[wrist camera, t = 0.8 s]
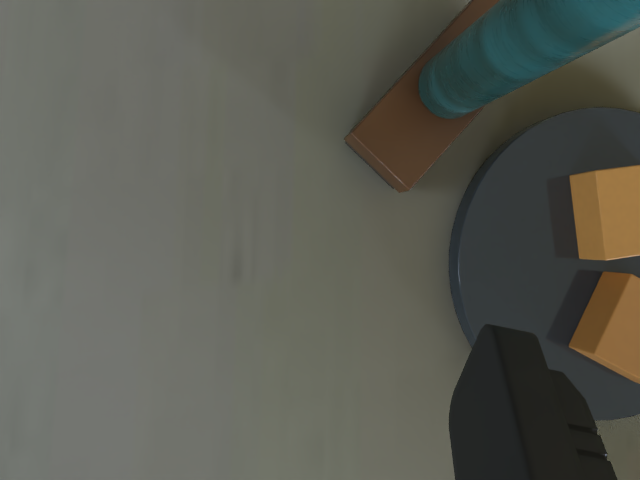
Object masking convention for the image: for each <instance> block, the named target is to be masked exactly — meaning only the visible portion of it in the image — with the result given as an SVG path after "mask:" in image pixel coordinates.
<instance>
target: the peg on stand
mask: <svg viewBox="0 0 640 480" xmlns="http://www.w3.org/2000/svg"><path fill="white" fill-rule="evenodd" d="M639 27H640V0H471V1H470V2H469V3H468V4H467V5H466V6H465V8H464V9H463V10H462V11H461V12H460V13H459V14H458V15H457V16H456V17H455V18H454V20H453V21H452V22H451V23H450V24H449V25H448V26H447V27H446V28H445V29H444V30H443V31H442V33H441V34H440V35H439V36H438V37H437V38H436V39H435V40H434V41H433V42H432V43H431V45H430V46H429V47H428V48H427V49H426V50H425V51H424V52H423V53H422V54H421V55H420V57H419V58H418V59H417V60H416V61H415V62H414V63H413V64H412V65H411V66H410V67H409V68H408V70H407V71H406V72H405V73H404V74H403V75H402V76H401V77H400V78H399V79H398V80H397V82H396V83H395V84H394V85H393V86H392V87H391V88H390V89H389V90H388V91H387V92H386V94H385V95H384V96H383V97H382V98H381V99H380V100H379V101H378V102H377V103H376V104H375V105H374V107H373V108H372V109H371V110H370V111H369V112H368V113H367V114H366V115H365V116H364V117H363V119H362V120H361V121H360V122H359V123H358V124H357V125H356V126H355V127H354V128H353V129H352V131H351V132H350V133H349V134H348V135H347V136H346V137H345V138H344V140H345V143H346V144H347V145H348V146H349V147H350V148H351V149H352V150H353V151H354V152H355V153H356V154H357V155H359V156H360V157H361V158H362V159H363V160H364V161H365V162H366V163H367V164H368V165H369V166H370V167H371V168H372V169H373V170H374V171H375V172H376V173H377V174H378V175H379V176H380V177H381V178H382V179H383V180H385V181H386V182H387V183H388V184H389V185H390V186H391V187H392V188H393V189H396V190H397V191H398V192H404V191H408V190H410V189H411V188H412V187H413V186H414V185H415V184H416V183H417V182H418V180H419V179H420V178H421V177H422V176H423V175H424V174H425V173H426V171H427V170H428V169H429V168H430V167H431V166H432V165H433V164H434V162H435V161H436V160H437V159H438V158H439V157H440V156H441V155H442V153H443V152H444V151H445V150H446V149H447V148H448V147H449V146H450V144H451V143H452V142H453V141H454V140H455V139H456V138H457V137H458V135H459V134H460V133H461V132H462V131H463V130H464V129H465V128H466V126H467V125H468V124H469V123H470V122H471V121H472V120H473V119H474V117H475V116H476V115H477V114H478V113H479V112H480V111H481V110H482V109H483V107H484V106H485V105H486V104H488V103H490V102H492V101H494V100H496V99H498V98H500V97H502V96H504V95H506V94H508V93H510V92H512V91H514V90H516V89H518V88H520V87H522V86H524V85H526V84H528V83H530V82H532V81H533V80H535V79H537V78H539V77H541V76H543V75H545V74H547V73H549V72H551V71H553V70H555V69H557V68H559V67H561V66H563V65H565V64H567V63H569V62H571V61H573V60H575V59H577V58H579V57H581V56H583V55H585V54H587V53H589V52H591V51H593V50H595V49H597V48H599V47H601V46H603V45H605V44H607V43H609V42H611V41H613V40H615V39H617V38H619V37H621V36H623V35H625V34H627V33H629V32H631V31H633V30H635V29H637V28H639Z"/></svg>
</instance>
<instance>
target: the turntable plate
mask: <svg viewBox="0 0 640 480" xmlns="http://www.w3.org/2000/svg"><path fill="white" fill-rule="evenodd" d="M634 165H640V113H638V112H634V111H629V110H624V109H619V108H606V107H595V108H582V109H577V110H573V111H569V112H564V113H561V114H558V115H555V116H553V117H550V118H547V119H545V120H542V121H540V122H537V123H535V124H532V125H531V126H529V127H527V128H525V129H523V130H522V131H520V132H518V133H516V134H515V135H514V136H512V137H511V138H510V139H508V140H507V141H506V142H504V143H503V144H502V145H501V146H500V147H499V148H498V149H497V150H496V151H495V152H494V153H493V154H492V155H491V156H490V157H489V158H488V159H487V160H486V161H485V163H484V164H483V165H482V167H481V168H480V169H479V171H478V172H477V173H476V174H475V176H474V178H473V180H472V181H471V183H470V185H469V187H468V188H467V190H466V192H465V194H464V197H463V199H462V201H461V204H460V206H459V209H458V211H457V215H456V219H455V222H454V226H453V229H452V236H451V243H450V249H449V277H450V286H451V294H452V298H453V302H454V306H455V311H456V314H457V316H458V319H459V322H460V324H461V327H462V330H463V332H464V334H465V336H466V338H467V340H468V341H469V343H470V345H471V347H472V348H473V346H474V343H475V341H476V339H477V336H478V334H479V332H480V330H481V329H482V327H483V326H484V325H486V324H491V325H496V326H501V327H506V328H510V329H515V330H520V331H525V332H530V333H534V334H535V335H536V336H537V338H538V340H539V343H540V346H541V349H542V352H543V354H544V357H545V360H546V363H547V366H548V369H551V370H556V371H560V372H563V373H564V374H565V375H566V376H567V378H568V379H569V380H570V381H571V382H572V384H573V385H574V386H575V387H576V388H577V390H578V391H579V392H580V393H581V394H582V396H583V397H584V398H585V399H586V401H587V404H588V406H589V409H590V411H591V414H592V417H593V419H594V421H595V420H614V419H620V418H625V417H631V416H634V415H637V414H640V384H639V383H636V382H634V381H632V380H630V379H628V378H626V377H624V376H622V375H620V374H619V373H617V372H615V371H613V370H611V369H609V368H607V367H605V366H604V365H602V364H600V363H598V362H596V361H594V360H592V359H590V358H589V357H587V356H585V355H583V354H581V353H579V352H577V351H575V350H574V349H572V348H570V347H569V343H570V341H571V339H572V337H573V335H574V333H575V331H576V328H577V326H578V324H579V322H580V320H581V318H582V316H583V314H584V311H585V309H586V307H587V305H588V303H589V301H590V299H591V296H592V294H593V292H594V290H595V288H596V286H597V284H598V282H599V279H600V277H601V275H602V273H603V272H615V273H627V274H633V275H635V276H636V277H638V278H640V255H639V256H633V257H626V258H620V259H613V260H607V261H606V260H589V259H579V253H578V244H577V236H576V227H575V219H574V211H573V202H572V194H571V186H570V177H569V176H570V175H573V174H578V173H584V172H589V171H595V170H602V169H610V168H618V167H626V166H634Z"/></svg>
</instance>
